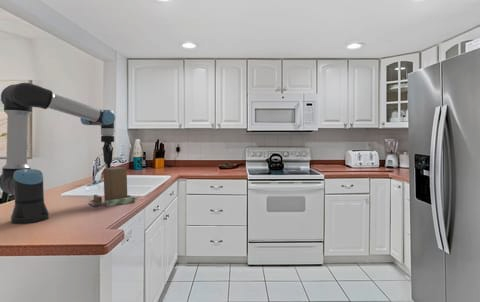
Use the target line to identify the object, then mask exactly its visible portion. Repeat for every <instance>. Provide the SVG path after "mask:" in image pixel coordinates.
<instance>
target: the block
mask: <svg viewBox="0 0 480 302" xmlns="http://www.w3.org/2000/svg"><path fill="white" fill-rule="evenodd" d="M127 175H128V171H127V167H123V166H122V167H120V166H115V167H111V168H105V167H104V169H103V191H104V193H103V195H104V201H105V200H114V199H122V198H127V195H128V177H127Z"/></svg>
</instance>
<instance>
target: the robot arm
mask: <svg viewBox="0 0 480 302" xmlns="http://www.w3.org/2000/svg"><path fill="white" fill-rule="evenodd" d="M0 101H1V103H2V104H3V112H4V113H5V114H6V115H7V118H6V119H7V120H6V121H7V122H6V123H7V125H6V159H5V160H6V162H5V164H4V166H2V167H1V169H2V170H1V175H0V189H1V191H2V192H4V193H6V194H8V195H11V196H14V206H13V211H12V214H11V216H10V222H11V223H12V224H21V225H22V224H30V223H32V224H33V223H37V222H42V221H46V220H48V219H49V218H50V213H49V211H48V208H47V206H46V203H45V194H44V193H45V192H44V174H43V172H42V170H39V169H35V168H34V169H33V168H32V169H31V166H30V165H29V164H28V144H29V143H28V141H29V137H28V136H29V116H30V115H31V114H32V113H33V108H40V109H43V110H48V109H51V110H53V111H57V112H61V113H64V114H66V115H67V114H68V115H70V116H73V117H77V118H80V122H81V124H83V125H84V126H100V135H101V136H100V142H101V143H104V144H103V147H101V148H102V154H103V163H104V165H105V167H104V169H105V168H112V167H111V164H112V163H113V154H114V153H113V152H114V147H113V145H112V143H114V142H115V132H116V130H115V121H116V115H115V113H114V110H112V109H111V110H110V109H101V108H97V107H94V106H91V105H89V104H86V103H82V102H79V101H77V100H73V99H71V98H68V97H64V96H61V95H58V94H56V93H54V92H53V90H51V89H48V88H45V87H42V86H40V85H37V84H33V83H31V82H20V83H16V84H15V83H14V84H10V85H8V86H6V87H4V88H3V89H2V91H1V93H0Z"/></svg>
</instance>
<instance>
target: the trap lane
mask: <svg viewBox="0 0 480 302" xmlns="http://www.w3.org/2000/svg"><path fill="white" fill-rule="evenodd" d="M93 200H94V201H95V202H89V203H88V205H90V206H92V207H93V208H98V207H113V206H118V205H126V204H132V203H136V200H138V198H136V197H135V196H132V195H130V194H129V195H128V194H127V198H122V199H114V200H104V203H103V202H102V201H103V198H102V196H100V195H97V194H93Z"/></svg>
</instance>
